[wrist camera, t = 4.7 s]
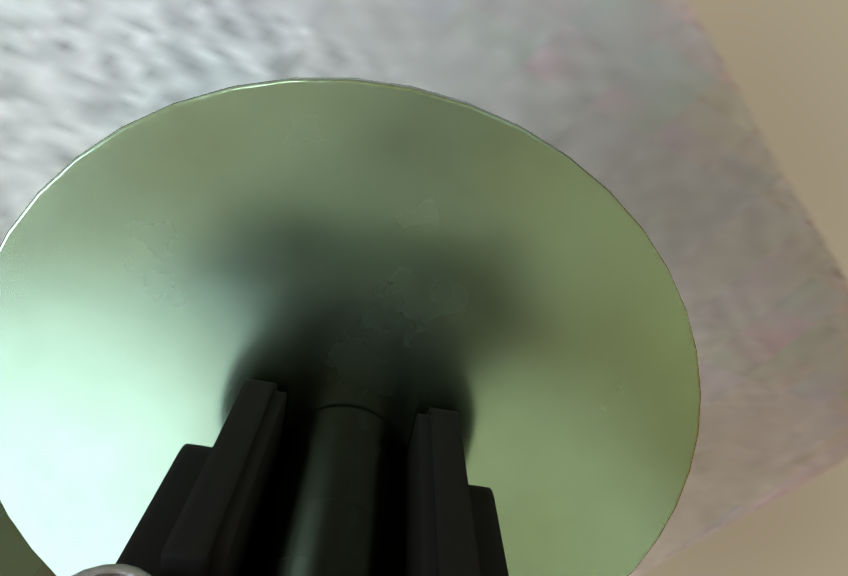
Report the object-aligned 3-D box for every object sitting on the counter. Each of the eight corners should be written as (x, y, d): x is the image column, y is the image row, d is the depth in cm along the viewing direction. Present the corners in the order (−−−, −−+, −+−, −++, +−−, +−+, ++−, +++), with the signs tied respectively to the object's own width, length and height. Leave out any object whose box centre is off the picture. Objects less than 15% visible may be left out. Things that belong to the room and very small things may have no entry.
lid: (274, -132, 8) (-86, -610, 2) (810, 392, 12) (1221, 746, 6) (-113, 453, 12) (-642, 865, 6) (387, 716, 16) (374, 1138, 10)
